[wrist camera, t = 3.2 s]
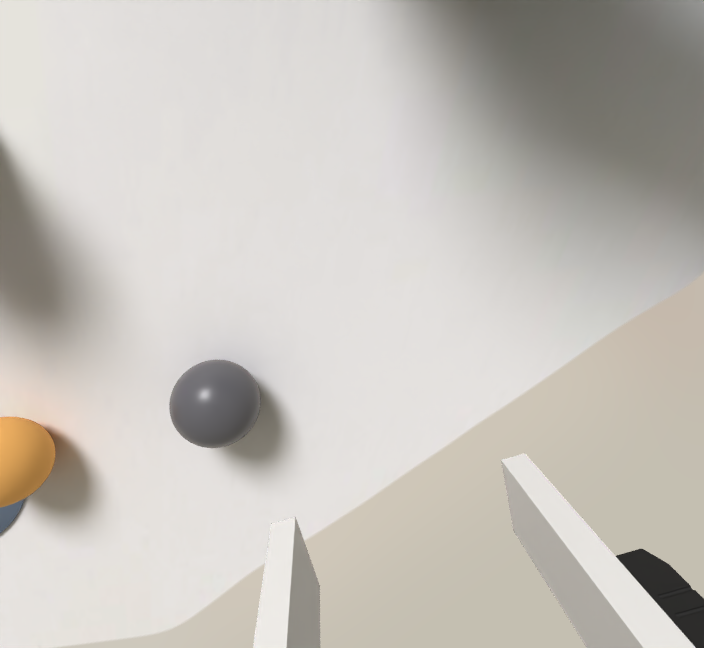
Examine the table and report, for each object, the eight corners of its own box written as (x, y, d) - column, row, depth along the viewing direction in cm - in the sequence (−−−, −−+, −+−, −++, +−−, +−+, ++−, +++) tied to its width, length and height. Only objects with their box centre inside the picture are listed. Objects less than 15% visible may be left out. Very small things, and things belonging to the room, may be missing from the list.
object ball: (-28, 414, 28) (-108, 461, 23) (52, 393, 28) (-10, 434, 23) (10, 481, 29) (-57, 540, 24) (85, 461, 29) (35, 515, 24)
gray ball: (173, 360, 28) (140, 394, 23) (251, 339, 28) (236, 368, 23) (201, 429, 30) (176, 476, 24) (275, 409, 30) (266, 452, 24)
